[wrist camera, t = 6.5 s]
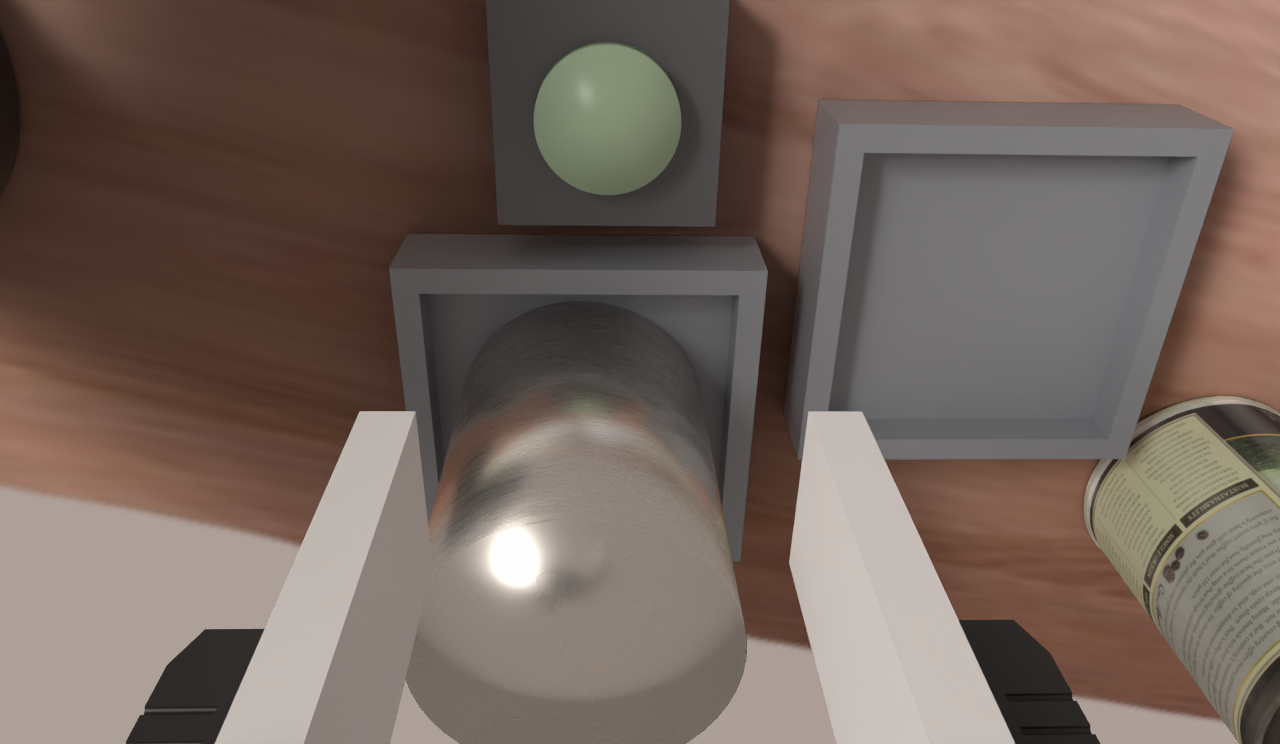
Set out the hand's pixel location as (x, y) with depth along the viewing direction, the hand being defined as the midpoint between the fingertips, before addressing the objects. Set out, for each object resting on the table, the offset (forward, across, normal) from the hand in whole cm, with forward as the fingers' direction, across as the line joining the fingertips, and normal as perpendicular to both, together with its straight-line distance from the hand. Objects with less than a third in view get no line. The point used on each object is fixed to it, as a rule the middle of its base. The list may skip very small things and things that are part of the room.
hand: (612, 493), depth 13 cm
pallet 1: (+25, -1, -12) cm, 28 cm away
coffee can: (+25, +28, -18) cm, 42 cm away
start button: (+25, 0, 0) cm, 25 cm away
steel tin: (+23, -1, -12) cm, 26 cm away
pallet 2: (+25, +15, -7) cm, 30 cm away
